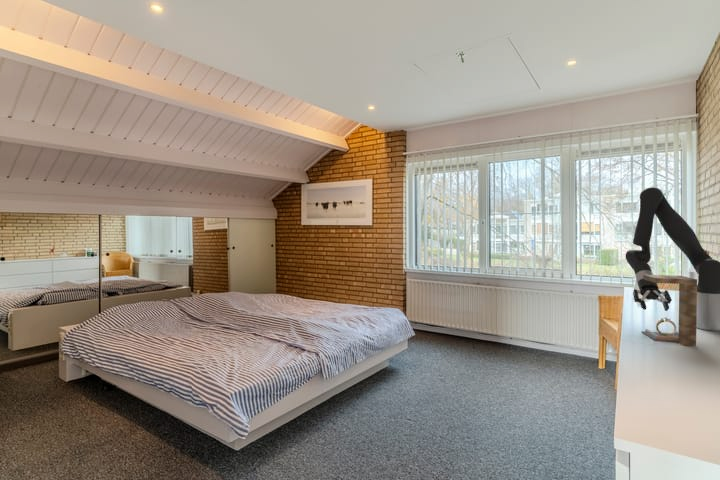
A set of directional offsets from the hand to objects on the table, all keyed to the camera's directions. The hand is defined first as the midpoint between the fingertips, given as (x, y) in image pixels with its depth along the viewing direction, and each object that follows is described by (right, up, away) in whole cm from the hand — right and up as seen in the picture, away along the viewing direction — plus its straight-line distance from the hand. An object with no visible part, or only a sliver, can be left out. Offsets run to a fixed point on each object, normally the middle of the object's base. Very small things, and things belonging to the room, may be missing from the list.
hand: (655, 309), depth 181 cm
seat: (-4, -10, -11) cm, 15 cm away
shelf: (-7, -10, -15) cm, 20 cm away
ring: (-4, -10, -11) cm, 15 cm away
